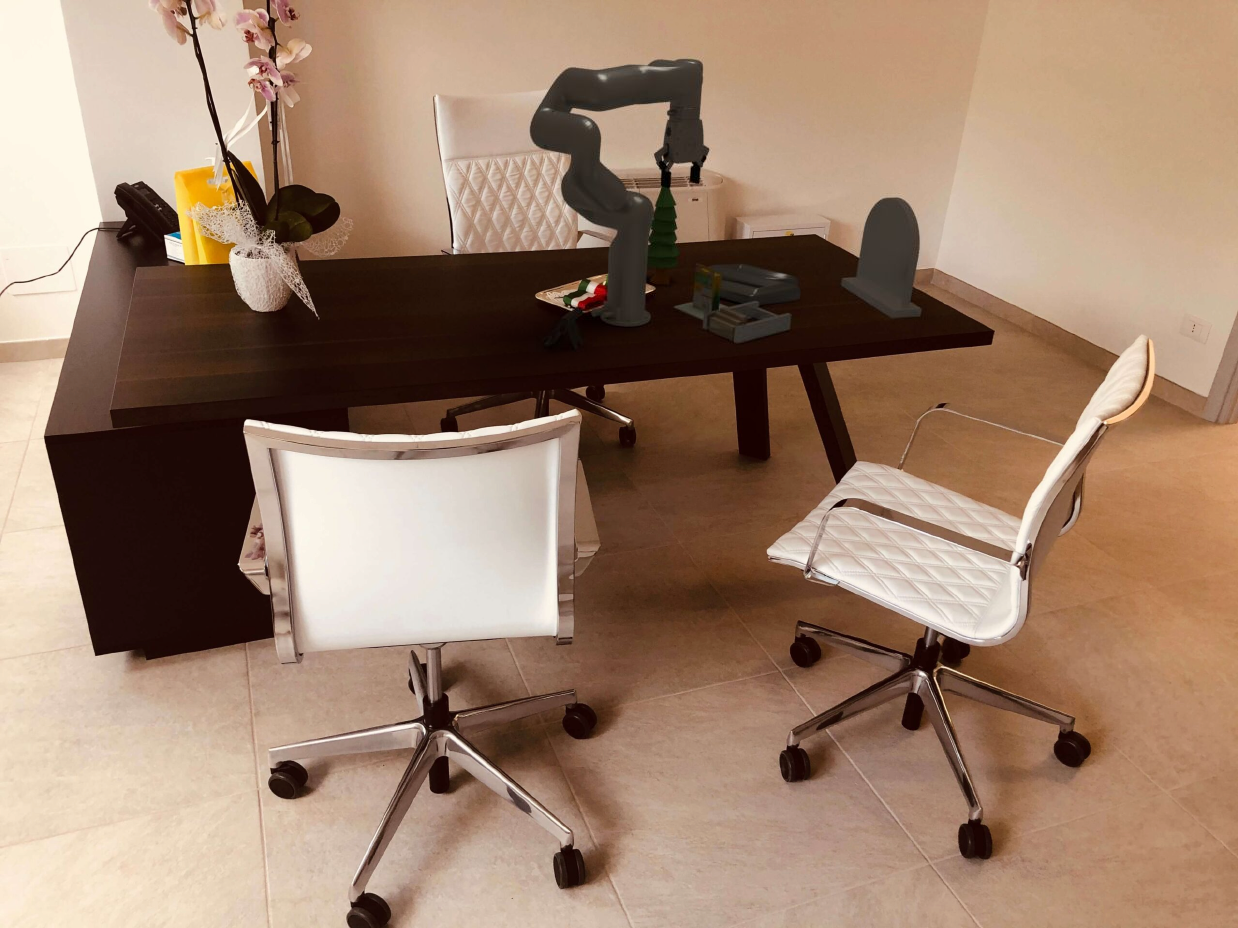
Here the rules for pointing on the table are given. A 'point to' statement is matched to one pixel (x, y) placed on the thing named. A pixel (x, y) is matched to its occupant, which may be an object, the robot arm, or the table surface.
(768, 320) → the rack
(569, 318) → the portable electronic device stand
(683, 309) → the mat
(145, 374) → the table surface
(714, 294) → the crayon box
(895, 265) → the gray tombstone
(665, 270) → the decorative tree
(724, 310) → the offcut stack
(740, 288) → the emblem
